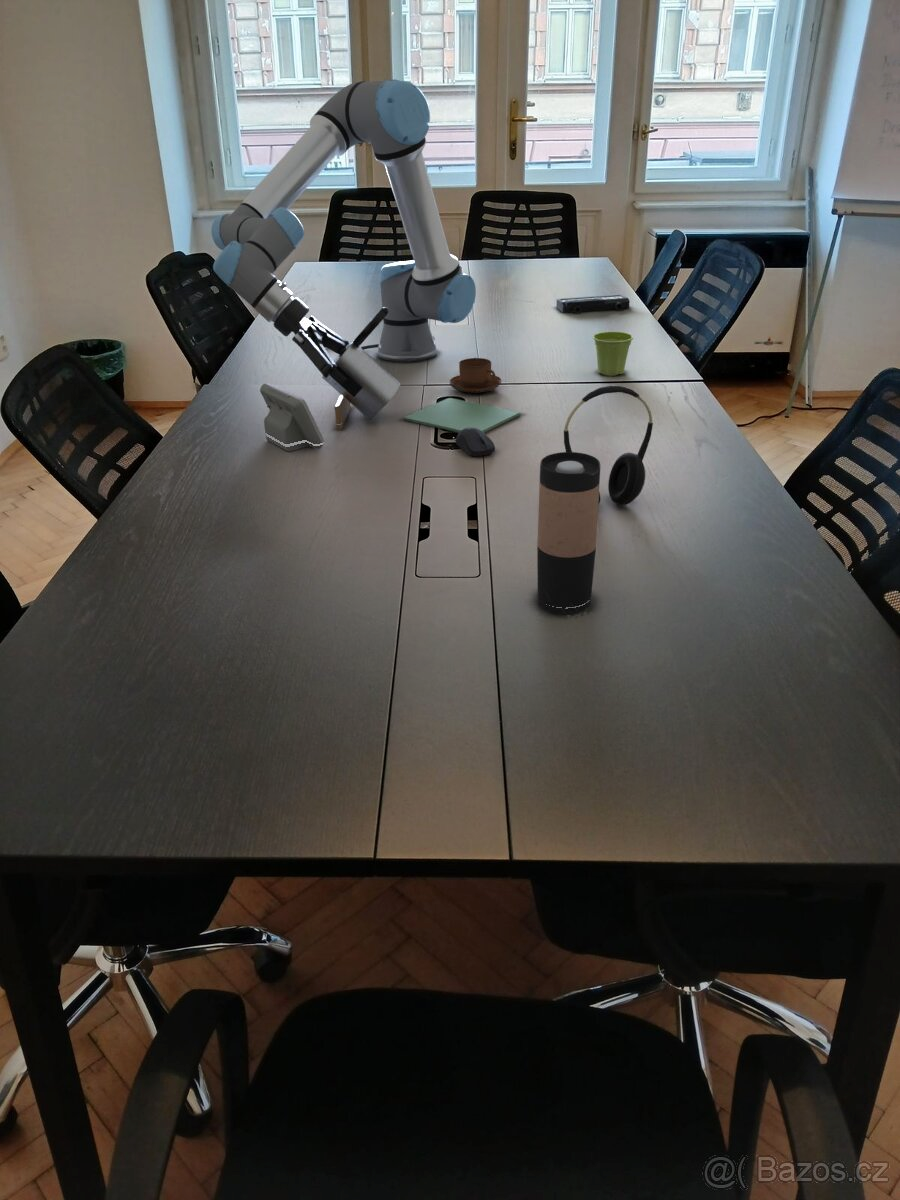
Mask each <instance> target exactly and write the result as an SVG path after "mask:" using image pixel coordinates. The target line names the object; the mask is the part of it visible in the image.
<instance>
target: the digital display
mask: <svg viewBox="0 0 900 1200" xmlns="http://www.w3.org/2000/svg"><path fill="white" fill-rule="evenodd" d="M630 302H631V301H630V298H628V297H627V296H625V295H623V294H611V295H610V294H609V295H593V296H579V297H565V298H564V297H563V298H556V305H555V306H556V307H555V308H556V309H558V310H559V311H561V312H562V313H575V314H579V313H580V312H589V311H591V312H592V311H605V310H616V311H621V310H622V309H629V308H630Z"/></svg>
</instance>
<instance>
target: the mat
mask: <svg viewBox="0 0 900 1200" xmlns="http://www.w3.org/2000/svg"><path fill="white" fill-rule="evenodd" d="M520 415H521V412H520V411H515V410H511V409H506V408H501V407H496V406H492V405H486V404H481V403H477V402H472V401H468V400H467V401H466V400H462V399H458V398H454V397H453V398H452V397H448V398H445V399H442V400H441V401H438V402H436V403H433V404H431V405H429V406H427V407H424V408H422V409H420V410H418V411H415V412H412V413H410V414H408V415H406V416H403V421H407V422H411V423H415V424H420V425H425V426H429V427H432V428H438V429H442V430H444V431H445V430H446V431H450V432H455V433H458V434H459V432H460V431H461V430H463V429H464V428H467V427H475V428H477V429H479V430H481V431H482V432H483V433H485V434H486V432H489V431H491V430H493V429H495V428H497V427H499V426H501V425H503V424H505V423H507V422H509V421H511V420H513V419H514V418H517V417H519V416H520Z"/></svg>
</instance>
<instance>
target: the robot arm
mask: <svg viewBox="0 0 900 1200" xmlns="http://www.w3.org/2000/svg"><path fill="white" fill-rule="evenodd" d="M430 111H431V110H430V107H429V103H428V101H427V98H426V96H425V95H424V93H423V92H422V90H421V89H420V88H419V87H418V86H417V85H415V84H413V83H412V82H410V81H407V80H400V79H387V80H386V79H385V80H371V81H369V80H368V81H364V80H363V81H355V82H352V83H350V84H348V85H346V86H344V87H343V88H341V89H340V90H338V91H337V92H336V93H335V94H334V95H332V96H331V97H330V98H329V99H328V100H327V101H326V102H325V103H324V104H323V105H322V106H321V107H320V108H319V109H317V111H316V112H315V113H314V115H313V116H312V117H311V118H310V119H309V128H308V129H307V130H306V131H305V132H304V134H302V136H301V137H299V139H298V140H297V141H296V142H295V143H294V144H293V145H292V146H291V148H290V149H289V150H288V151H287V152H286V153H285V154H284V155H283V156H282V158H281V159H280V160H279V161H278V162H277V163H276V164H275V166H274V167H272V169H271V170H270V171H269V172H268V173H267V174H266V175H265V176H264V178H262V179H261V181H260V182H259V183H258V184H257V185H256V186H255V187H254V189H253V190H252V191H251V192H250V193H249V194H248V195H247V196H246V197H245V198H244V199H243V201H242V202H241V203H240V204H239V205H238V206H237V207H236V209H234V211H233V212H232V213H225V214H224V213H223V214H220V215H218V216H217V217H216V218H215V219H214V220H213V222H212V224H211V232H210V233H211V238H212V240H213V243H214V244H215V246H216V247H217V248H218V249H219V250H221V252H220V253H219V254H218V256H217V257H216V259H215V260H214V263H213V265H212V269H213V271H214V273H215V274H216V275H217V276H218V278H219V279H221V280H222V281H223V283H225V285H226V286H227V287H229V288H230V289H231V290H233V291H234V292H235V293H236V294H237V295H239V296H240V298H242V299H243V300H244V301H245V302H246V303H248V304H249V305H250V306H251V307H252V308H253V309H254V310H255V311H256V312H257V313H258V314H259V315H260V316H261V317H262V318H263V319H265V320H266V321H267V322H268V323H273V324H272V325H273V327H274V329H276V330H277V331H278V332H279V333H281V335H283V336H284V337H289V336H290V334H291V333H293V334H294V335H293V337H292V338H291V340H292V341H293V342H294V343H295V344H296V345H297V346H298V347H299V348H300V349H301V351H302V352H303V354H305V355H306V357H308V359H309V360H310V361H311V363H312V364H313V365H314V366H315V367H316V369H317V370H318V372H320V373H321V376H324V377H325V378H327V377H328V376H329V375H330V376H331V377H332V378H333V379H334V380H335V381H336V382H337V383H339V384H340V385H341V386H342V387H343V388H344V389H345V390H346V391H347V392H349V393H350V394H351V395H352V396H353V397H355V396H356V395H357V394H358V392H359V391H360V390H361V389H362V388H363V386H362V385H360V384H359V383H358V382H357V381H356V380H355V379H354V378H353V377H352V376H351V375H349V374H348V373H347V372H346V371H345V370H344V369H343V368H342V367H341V366H340V365H338V366H336V364H335V363H334V359H333V358H332V356H331V355H330V354H329V352H328V351H327V350H326V349H328V350H330V351H332V352H334V353H336V354H337V355H339V354H340V353H341V352H342V351H343V350H344V349H345V347H346V346H347V345H348V344H349V343H350V341H348V340H346V339H345V338H343V337H342V336H340V335H339V334H338V333H336V332H335V331H333V330H332V329H330V328H329V327H328V326H326V325H324V324H323V323H322V322H320V321H319V320H318V319H317V318H316V317H315V316H313V315H310V316H309V317H306V315H307V314H308V313H309V311H310V307H309V306H308V305H306V304H305V303H304V302H303V301H302V300H301V299H300V298H299V297H293V296H294V293H293V292H292V291H291V290H290V289H289V288H288V287H287V283H286V282H285V281H284V282H281V281H280V280H279V279H278V278H277V277H276V275H274V273H275V272H276V271H277V269H278V268H279V267H280V266H281V265H282V263H283V262H285V260H287V258H288V257H289V256H290V255H291V254H292V253H293V252H294V251H295V250H296V249H297V247H298V245H299V244H300V243H301V242H302V240H303V238H304V237H305V229H304V225H303V224H302V223H301V221H300V220H299V218H298V217H297V216H296V214H294V213H293V212H292V211H291V210H289V209H290V207H291V206H292V205H293V204H294V203H295V202H296V201H297V200H298V199H299V197H300V196H301V195H302V194H303V193H304V192H305V191H306V189H308V187H309V186H311V184H312V183H313V182H314V181H315V179H316V178H317V177H318V176H319V175H320V174H321V172H323V171H324V170H325V168H326V167H327V166H328V165H329V164H330V163H331V162H332V161H333V159H335V157H341V156H344V154H345V153H346V152H347V151H348V150H349V149H350V148H352V147H354V146H355V145H359V144H363V143H366V144H370V145H371V146H370V147H371V149H372V152H373V155H374V158H375V160H376V161H377V162H379V163H381V164H382V165H384V167H385V170H386V174H387V176H388V180H389V183H390V186H391V191H392V194H393V196H394V199H395V202H396V206H397V209H398V212H399V216H400V220H401V222H402V226H403V229H404V232H405V236H406V239H407V243H408V245H409V249H410V252H411V255H412V260H406V261H405V260H404V261H398V262H393V263H388V264H385V265H383V266H382V267H381V269H380V281H379V284H380V297H381V309H382V308H383V307H386V308H387V309H388V311H389V312H388V314H387V315H386V317H385V318H384V319H383V320H382V323H383V326H382V331H381V334H380V340H379V343H376V344H369V345H363V346H360V347H361V348H362V349H363V350H364V351H365V350H369V349H376V348H378V349H377V352H378V353H377V354H378V357H379V358H380V359H381V360H385V361H388V362H398V363H399V362H400V363H408V362H418V361H425V360H428V359H431V358H433V357H435V356H436V355H437V345H436V342H435V340H436V338H435V335H433V334H432V330H431V327H430V325H429V320H433V321H438V322H441V323H446V324H447V323H450V324H458V323H460V322H462V321H464V320H465V319H466V318H467V317H468V316H469V315H470V313H471V311H472V309H473V307H474V304H475V302H476V297H477V287H476V283H475V280H474V279H473V277H472V276H471V275H469V274H468V273H466V272H462V269H461V265H460V262H459V261H460V260H459V259H458V257H457V256H456V255H453V254H451V253H450V249H449V246H448V242H447V239H446V234H445V231H444V228H443V227H444V226H443V224H442V220H441V216H440V213H439V210H438V206H437V205H438V204H437V202H436V199H435V195H434V190H433V188H432V187H433V186H432V184H431V180H430V177H429V173H428V169H427V166H426V162H425V159H424V154H423V151H424V148H425V146H426V144H427V140H426V139H427V138H426V136H427V134H428V132H429V129H430V125H429V123H430V122H431V112H430Z"/></svg>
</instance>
